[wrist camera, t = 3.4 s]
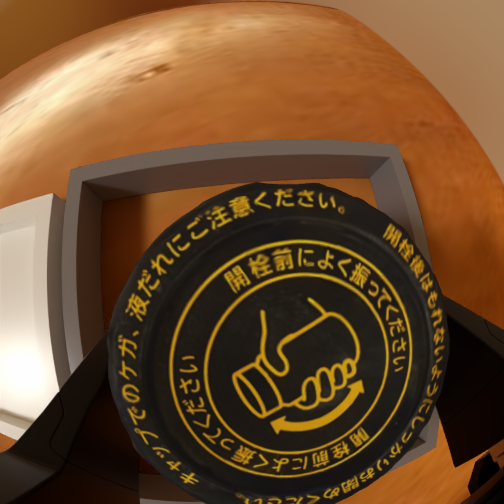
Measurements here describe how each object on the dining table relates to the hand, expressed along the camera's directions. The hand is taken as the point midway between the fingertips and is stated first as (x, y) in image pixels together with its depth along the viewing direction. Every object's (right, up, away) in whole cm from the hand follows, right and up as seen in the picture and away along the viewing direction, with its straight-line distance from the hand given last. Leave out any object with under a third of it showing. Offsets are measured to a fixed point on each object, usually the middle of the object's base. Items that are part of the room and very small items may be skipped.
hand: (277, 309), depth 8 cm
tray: (-19, -4, +4) cm, 20 cm away
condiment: (0, -3, +6) cm, 7 cm away
